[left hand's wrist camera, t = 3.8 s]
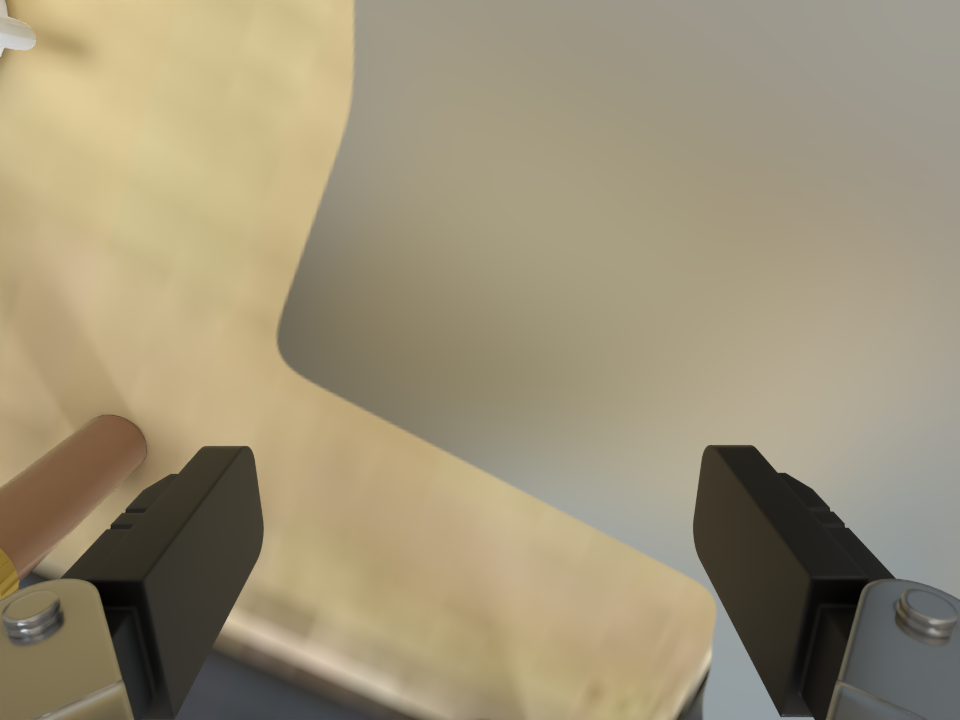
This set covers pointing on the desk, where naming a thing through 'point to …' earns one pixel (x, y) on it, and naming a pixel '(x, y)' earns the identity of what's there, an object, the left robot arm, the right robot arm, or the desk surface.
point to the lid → (7, 576)
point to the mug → (14, 32)
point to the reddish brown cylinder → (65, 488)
